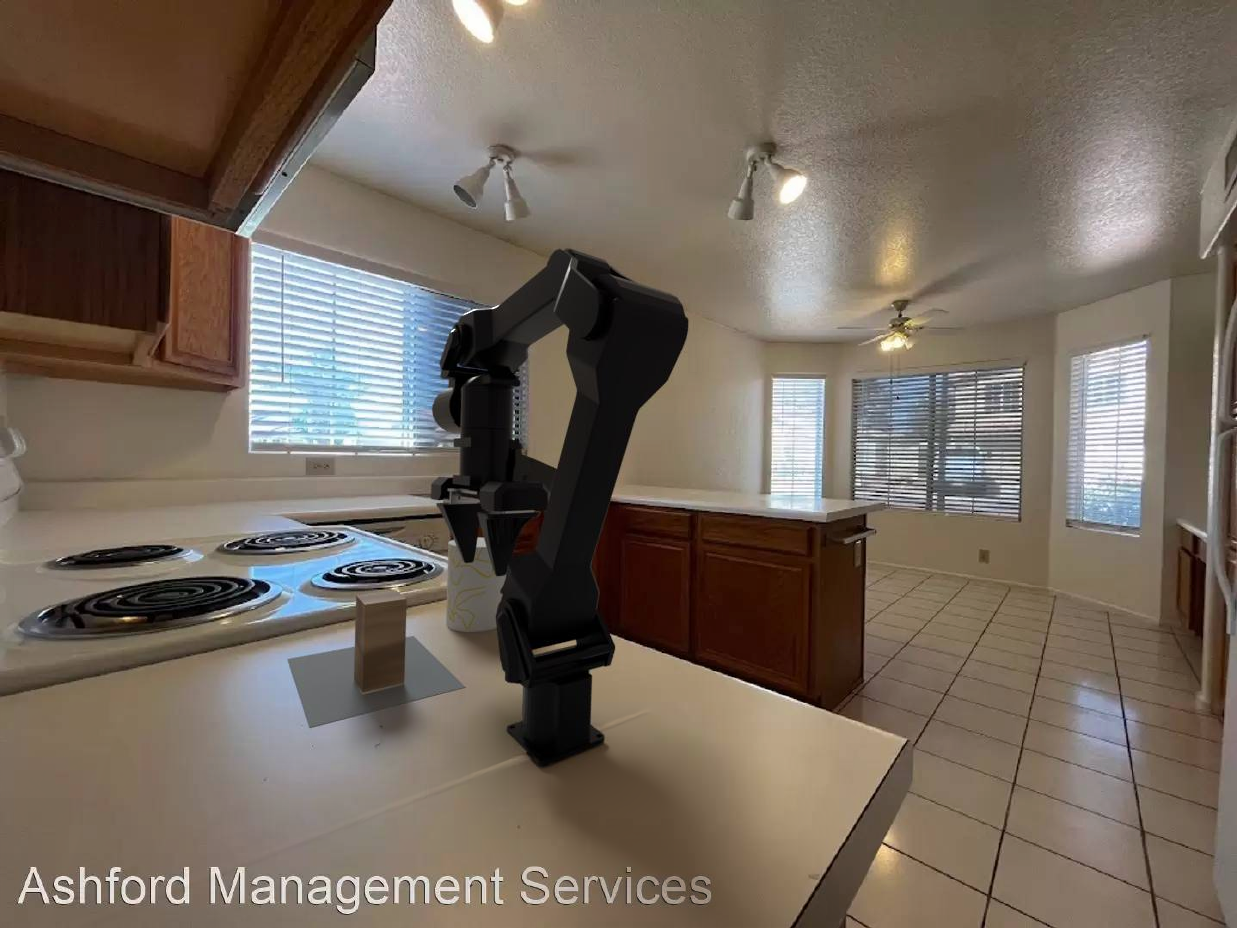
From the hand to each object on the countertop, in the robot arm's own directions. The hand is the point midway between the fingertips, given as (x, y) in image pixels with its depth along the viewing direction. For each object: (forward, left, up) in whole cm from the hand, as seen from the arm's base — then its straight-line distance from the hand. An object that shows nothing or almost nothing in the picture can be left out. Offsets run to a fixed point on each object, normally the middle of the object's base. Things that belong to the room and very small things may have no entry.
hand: (483, 568), depth 57 cm
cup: (+16, -6, -12) cm, 21 cm away
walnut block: (+3, +10, -11) cm, 15 cm away
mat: (+6, +10, -12) cm, 17 cm away
